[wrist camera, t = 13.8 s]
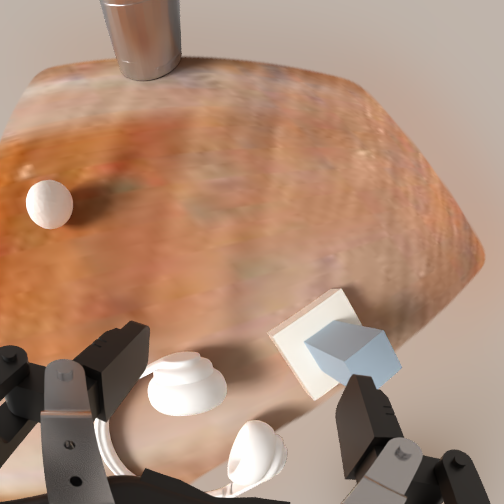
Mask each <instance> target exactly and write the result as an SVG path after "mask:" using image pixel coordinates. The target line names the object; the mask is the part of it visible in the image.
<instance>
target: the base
mask: <svg viewBox="0 0 504 504" xmlns="http://www.w3.org/2000/svg"><path fill="white" fill-rule="evenodd" d="M333 320H335V321H340V322H345V323H350V324H355V325H360V326H362V324H361V322H360V320H359V319H358V317H357V315H356V313H355V311H354V310H353V308H352V306H351V304H350V303H349V301H348V299H347V297H346V296H345V294H344V292H343V290H342V289H341V288H340V289H330V290H328V291H327V292H326V293H324V294H323V295H321V296H320V297H319V298H317V299H316V300H314V301H313V302H311V303H310V304H309V305H307V306H306V307H304V308H303V309H301V310H300V311H298V312H297V313H295V314H294V315H293V316H291V317H290V318H288V319H287V320H285V321H284V322H282V323H281V324H279V325H278V326H276V327H275V328H273V329H272V330H270V331H269V332H267V334H268V335H269V337H270V338H271V340H272V341H273V343H274V344H275V346H276V348H277V349H278V351H279V352H280V354H281V355H282V357H283V358H284V360H285V361H286V363H287V364H288V366H289V367H290V369H291V370H292V372H293V374H294V375H295V377H296V378H297V380H298V381H299V383H300V384H301V386H302V387H303V389H304V390H305V392H306V393H307V394H308V395H309V396H310V397H311V398H312V399H313V400H314V401H315V400H317V399H318V398H320V397H321V396H322V395H324V394H325V393H327V392H328V391H329V390H331V389H332V388H333V387H335V386H336V385H337V384H339V383H340V382H338V381H337V380H335V379H333V378H332V377H330V376H329V375H327V374H326V373H324V372H323V371H321V369H320V367H319V366H318V364H317V363H316V361H315V359H314V358H313V356H312V355H311V353H310V351H309V350H308V348H307V346H306V345H305V343H304V341H305V340H307V339H308V338H310V337H311V336H313V335H314V334H315V333H317V332H318V331H320V330H321V329H322V328H324V327H325V326H327V325H328V324H329V323H331V322H332V321H333Z"/></svg>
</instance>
